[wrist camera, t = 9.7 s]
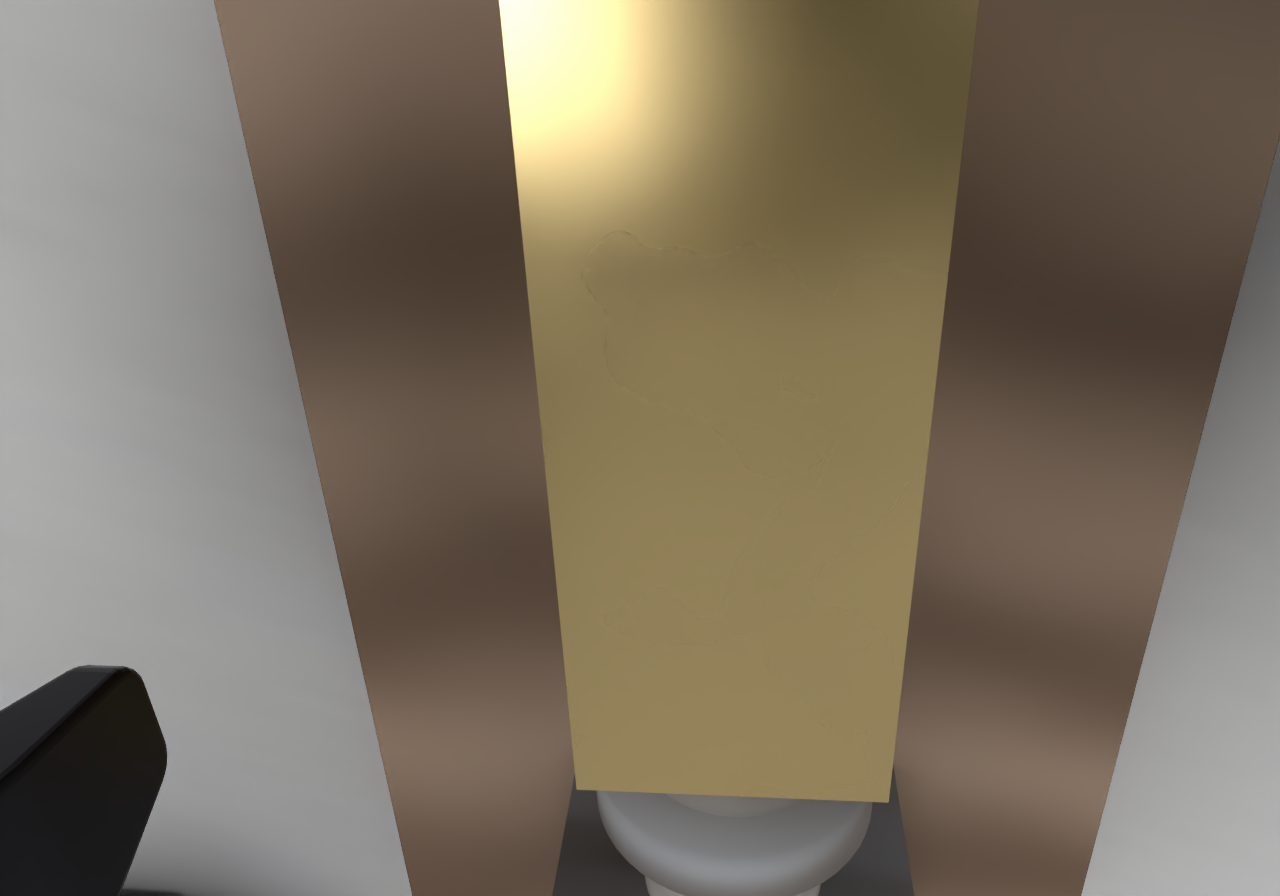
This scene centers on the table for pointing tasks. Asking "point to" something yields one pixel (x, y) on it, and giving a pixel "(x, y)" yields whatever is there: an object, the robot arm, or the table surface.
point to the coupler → (736, 369)
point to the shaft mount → (956, 464)
